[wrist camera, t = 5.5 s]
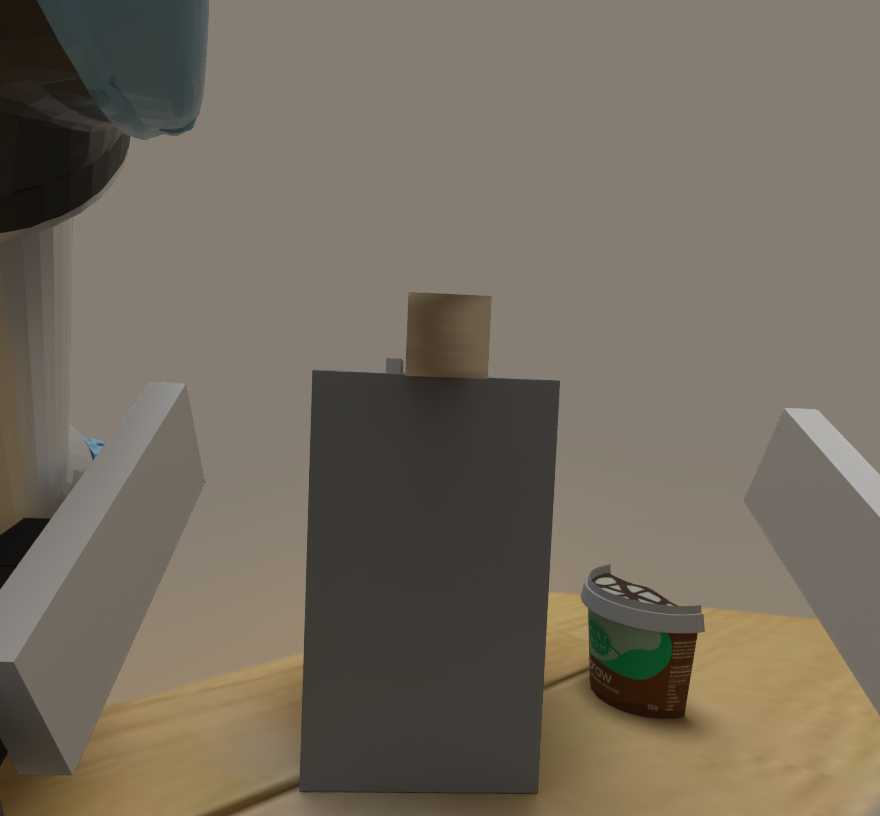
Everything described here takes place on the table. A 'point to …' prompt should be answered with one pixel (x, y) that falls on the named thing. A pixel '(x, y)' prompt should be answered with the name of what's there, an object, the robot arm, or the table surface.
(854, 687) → the table surface
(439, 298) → the switch bar
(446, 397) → the cabinet
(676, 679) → the food container
